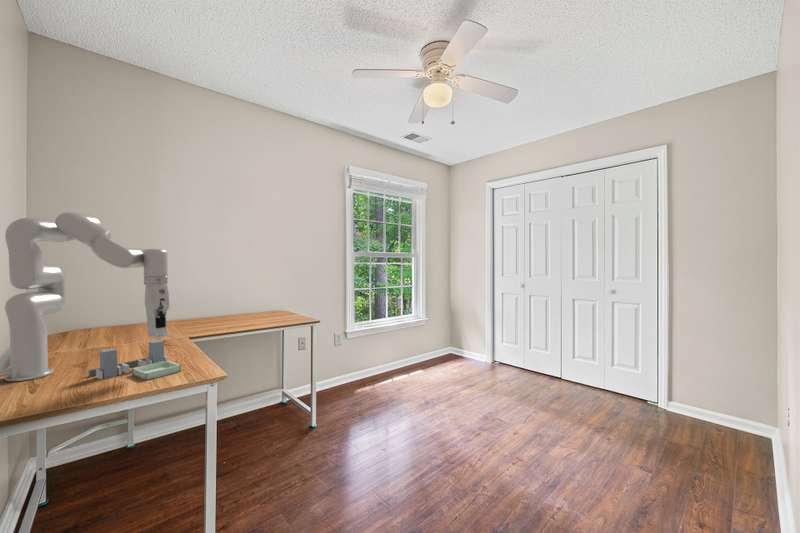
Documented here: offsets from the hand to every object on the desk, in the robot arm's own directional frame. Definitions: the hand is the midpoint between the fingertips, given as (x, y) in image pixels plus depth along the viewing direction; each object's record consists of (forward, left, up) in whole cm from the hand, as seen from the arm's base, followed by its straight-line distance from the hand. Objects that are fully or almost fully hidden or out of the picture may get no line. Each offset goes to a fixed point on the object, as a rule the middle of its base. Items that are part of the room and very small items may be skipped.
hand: (156, 326), depth 133 cm
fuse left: (-11, +11, -19) cm, 25 cm away
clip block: (-3, +11, -18) cm, 22 cm away
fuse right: (+5, +11, -19) cm, 22 cm away
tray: (0, 0, -18) cm, 18 cm away
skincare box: (+1, 0, -4) cm, 4 cm away
